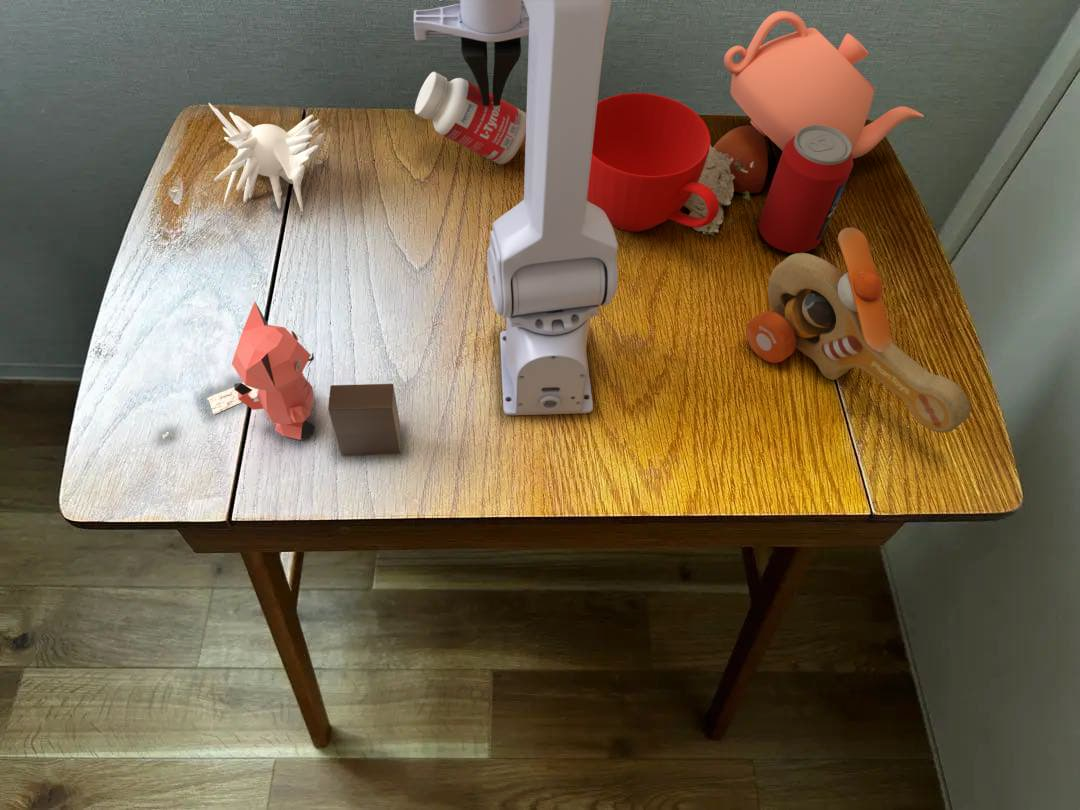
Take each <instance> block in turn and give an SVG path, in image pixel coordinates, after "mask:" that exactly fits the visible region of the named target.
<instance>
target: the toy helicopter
mask: <svg viewBox="0 0 1080 810" xmlns="http://www.w3.org/2000/svg"><path fill="white" fill-rule="evenodd" d="M837 236H838V237H837V242H838V245H839V248H840V251H841V255H842V258H843V261H844V263H845V267H846V270H847V272H845V273H844V272H842V271H841V270H840V269H839V268H838V267H836V266H835V265H834V264H832V263H830V262H829V261H827V260H825V259H824V258H821V257H819V256H817V255H814V254H810V253H806V252H802V253H793V254H792V253H791V255H788V256H787V257H786V258H785V259H783V260H782V261H780V262H779V263H778V264H777V265H776V266H775V267H774V269H773V270H772V271H771V274H770V277H769V279H768V284H767V297H768V304H769V307H770V310H765V311H761V312H759V313H757V315H755V316H753V317H752V318H751V319H750V320H749V321H748V322H747V325H746V328H745V334H746V335H745V336H746V339H747V342H748V344H749V347H750V348H751V349H752V351H753V352H754V353H755V355H757V356H758V357H759V358H761V359H762V360H763V361H765V362H768V363H773V364H777V363H781V362H783V361H785V360H786V359H787V358H789V357H790V356H791V355H793V353H794V352H795V350H796V349H797V350H798V351H800V352H801V353H802V354H804V356H807V357H808V358H809V359H811V360H812V361H813V362H814V363H815V364H816V366H817V368H818V370H819V371H820V373H821V375H822V376H823V377H825V379H828V380H830V381H833V380H834V381H835V380H837V379H839V378H841V377H842V376H843V375H844V374H846V373H847V372H849V370H850V369H854V368H855V369H860V370H862V371H864V372H866V373H867V374H868V375H869V376H871V377H872V378H874V379H875V380H876V381H877V382H878V383H880V384H881V385H882V386H884V387H885V388H887V390H889V391H891V392H892V393H893V394H894V395H895V396H897V397H899V399H901V400H902V401H903V402H904V403H905V404H906V406H907V407H908V409H909V411H910V414H911V416H913V418H914V419H915V420H916V422H918V423H919V424H920V425H921V426H922V427H924V428H925V429H926V430H927V429H928V430H930V431H931V432H935V433H941V434H945V433H950V432H952V431H954V430H955V429H956V428H957V427H959V426H960V425H962V424H963V423H964V422H966V421H967V420H968V419H969V416H970V414H971V403H970V400H969V397H968V396H967V394H966V392H965V391H964V390H963V388H961V386H959V384H958V383H957V382H955V381H953V380H951V378H948V377H946V376H942V375H939V374H934V373H931V372H930V371H928V370H927V369H926V368H924V367H923V366H922V365H921V364H920V363H918V362H917V361H916V360H915V359H913V358H912V357H911V356H910V355H909V354H908V353H906V352H905V351H904V350H903V349H901V348H900V347H899V346H898V345H896V344H895V343H894V342H893V337H892V333H891V328H890V325H889V324H890V323H889V321H888V320H889V319H888V316H887V313H886V308H885V304H884V300H883V299H884V298H883V295H882V290H883V282H882V279H881V277H880V276H878V275H877V270H876V266H875V262H874V259H873V255H872V252H871V249H870V246H869V243H868V240H867V239H868V238H867V237H866V236H865V234H864V233H863V232H862V231H861V230H859V229H858V228H856V227H845V228H843V229H841V230H840V231H839V233H838V235H837Z"/></svg>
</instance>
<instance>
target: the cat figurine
mask: <svg viewBox="0 0 1080 810" xmlns="http://www.w3.org/2000/svg"><path fill="white" fill-rule="evenodd" d="M290 332H291V333H290ZM300 335H301V336H300V337H302V334H300ZM303 344H306V342H305V341H303ZM304 346H305V347H304ZM304 346H303V345H302V344H301V343H300V342H299V336H298V334H297V333H296V332H295V331H293V330H291V331H289V330H288V329H287V328H286V327H285V326H278V325H270V324H268V322H267V320H266V318H265V317H264V315H263V313H262V311H261V309H260V307H259V306H258V304H257V302H256V301H254V302H253V304H252V307H251V310H250V312H249V314H248V317H247V319H246V321H245V324H244V326H243V329H242V331H241V334H240V337H239V340H238V343H237V346H236V349H235V352H234V355H233V357H232V361H231V365H232V367H233V368H234V370H235V371H236V374H237V375H238V376H239V378H240V379H241V381H242V382H238V383H237V382H236V383H233V388H234V389H235V390H236V391H237V392H238V399H239V400H240V401H242V402H241V403H243V404H244V405H246V406H247V407H249V408H250V409H251V410H253V411H254V410H255V411H256V410H264V412H265V414H266V415H267V417H268V419H269V420H270V422H271V423H272V424H276V425H275V428H274V431H275V432H277V433H279V434H280V435H281V436H283V437H286V438H291V439H295V440H299V441H302V440H304V439H306V438H308V437H311V436H312V435H314V432H315V428H316V426H315V425H314V424H313V423H311V422H310V421H309V420H307V418H308V417H310V416H311V412H312V409H313V406H314V402H315V396H314V390H313V389H314V388H313V385H312V384H311V381H309V377H310V374H311V373H312V371H311V367H310V365H311V363H313V361H314V360H315V355H314V352H312V353H310V352H309V351H308V348H307V346H306V345H304ZM306 366H307V367H306ZM305 368H306V369H308V373H307V370H305ZM304 370H305V373H307V377H306V376H305V374H304V373H303V372H304ZM243 382H244V384H245V385H246V386H245V385H244V384H242V383H243ZM247 386H249V387H252V388H255V389H258V394H257V397H256V398H257V401H254V398H253V399H252V398H251V397H250V396H249V395H248V394H249V393H250V392H251V391H252V389H250V388H249V387H247Z"/></svg>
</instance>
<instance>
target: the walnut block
mask: <svg viewBox="0 0 1080 810" xmlns="http://www.w3.org/2000/svg"><path fill="white" fill-rule="evenodd" d="M395 392H396V391H395V387H394V383H369V384H367V383H365V384H331V385H330V386H329V398H328V413H329V417H330V421H331V424H332V428H333V431H334V434H335V437H336V440H337V445H338V448H339V451H340V455H341V457H342V456H369V455H371V456H372V455H400V454H401V449H402V427H401V421H400V416H399V415H400V414H399V410H398V404H397V398H396V393H395Z"/></svg>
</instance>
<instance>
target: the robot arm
mask: <svg viewBox="0 0 1080 810" xmlns="http://www.w3.org/2000/svg"><path fill="white" fill-rule="evenodd" d="M522 2H523V3H522ZM611 4H612V0H459V3H456V4H451V5H450V4H449V5H446V6H440V7H436V8H435V7H434V8H428V9H414V10H413V29H414V30H413V31H414V40H415V41H426V40H428V39H427V38H428V37H460V44H461V45H460V47H461V51H460V52H461V55H462V57H463V59H464V62H465V63H466V64H467V66H468V68H469V69H470V71H471V73H472V75H473V77H474V79H475V81H476V84H477V86H478V87H479V90H480V93H481V97H482V104H483V106H489V93H490V84H489V83H490V82H489V73H488V43H493V44H494V45H493V49H494V50H493V52H494V53H493V55H494V56H493V57H494V59H493V60H494V61H493V74H492V94H493V106H499V105H500V101H501V99H502V95H503V92H504V89H505V86H506V84H507V81H508V78H509V76H510V74H511V72H512V71H513V69H514V67H515V66H516V65H517V63H518V62H519V60H520V57H521V53H522V43H521V38H523V37H526V38H527V37H528V49H527V60H528V61H527V82H526V83H527V84H526V85H527V86H526V113H525V114H526V134H525V148H524V149H525V151H524V179H523V180H524V181H523V199H522V200H521V201H520V202H519V203H517V204H516V205H515V206H513V207H512V208H511V209H509V210H508V211H506V212H504V213H503V214H502V215H501V216H499V217H498V218H497V219H496V220H494V222H492V229H491V231H490V233H489V246H488V248H487V251H486V265H487V275H488V282H489V290H490V291H489V292H490V295H491V301H492V305H493V309H494V311H495V312H496V313H497V314H498V315H499V316H500V317H501V318H502V319H506V321H505V322H506V323H505V324H506V326H505V330H501V332H500V333H499V342H500V344H499V345H500V363H501V364H500V365H501V367H500V368H501V385H502V406H503V413H504V414H505V415H506V416H535V415H536V416H537V415H539V416H540V415H568V414H569V415H573V414H590V413H592V412H593V409H594V402H593V395H592V386H591V377H590V369H589V361H588V353H587V345H588V337H589V329H590V324H591V318H594V317H595V318H596V317H598V314H599V308H600V306H601V307H604V306H605V307H606V306H609V305H611V303H612V301H613V300H614V298H615V297H616V295H617V292H618V287H619V267H618V251H619V245H618V240H617V236H616V232H615V230H614V226H612V225H611V223H610V221H609V219H608V217H607V215H606V214H605V212H604V211H603V210H602V209H601V208H599V207H597V206H596V205H594V204H592V203H590V201H589V200H588V198H587V194H588V185H589V176H590V167H591V158H592V149H593V139H594V130H595V121H596V112H597V103H598V102H599V93H600V83H601V76H602V75H601V74H602V65H603V56H604V47H605V40H606V32H607V26H608V22H609V16H610V11H611V6H612V5H611ZM586 398H587V399H586ZM508 400H510V401H508Z"/></svg>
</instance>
